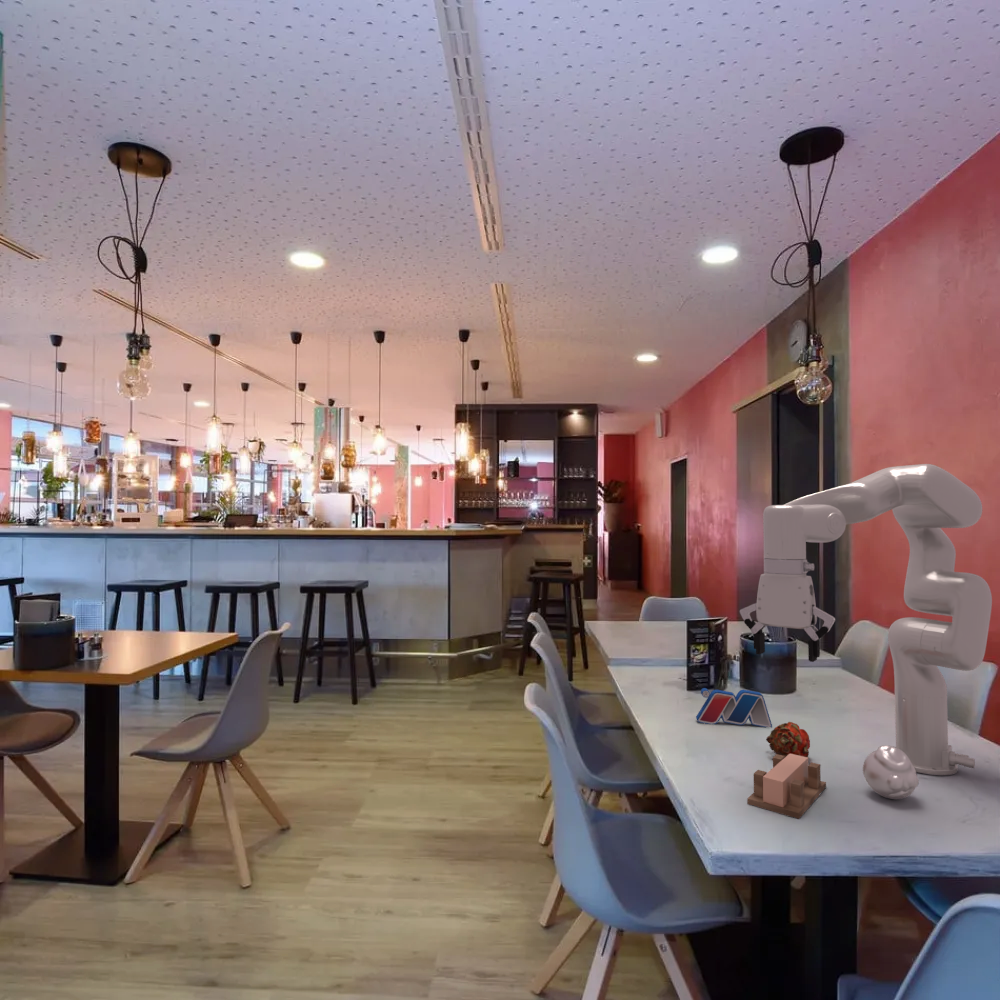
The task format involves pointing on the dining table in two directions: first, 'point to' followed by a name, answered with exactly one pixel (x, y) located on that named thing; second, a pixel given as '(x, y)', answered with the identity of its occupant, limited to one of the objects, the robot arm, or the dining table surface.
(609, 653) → the dining table surface
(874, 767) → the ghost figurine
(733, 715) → the logo
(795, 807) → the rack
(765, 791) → the clay strip
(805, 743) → the dragon fruit
